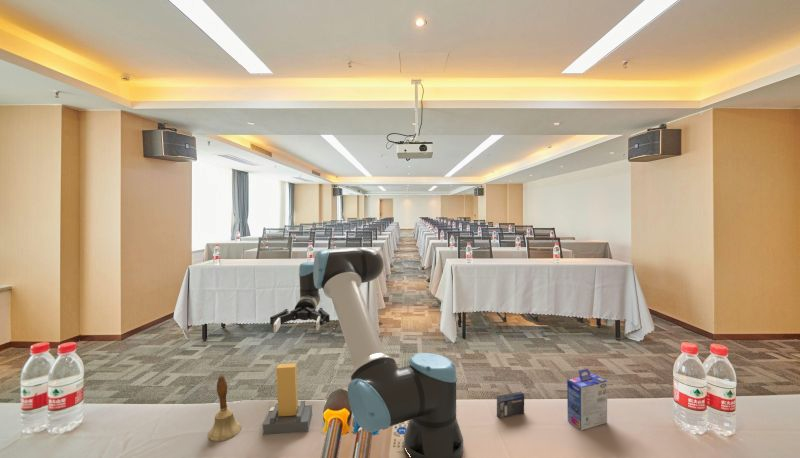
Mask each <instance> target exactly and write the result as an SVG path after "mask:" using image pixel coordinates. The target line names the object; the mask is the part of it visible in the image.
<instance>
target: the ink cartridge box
mask: <svg viewBox="0 0 800 458" xmlns="http://www.w3.org/2000/svg"><path fill="white" fill-rule="evenodd" d="M577 371H578V377H573V378H569V379H567V380H566V385H567V386H566V387H567V389H566V391H567V393H566V394H567V421H568V423H570V424H572V425H573V426H574V427H576V428H577V429H578V430H580V431H583V430H587V429H591V428H594V427H597V426H600V425H604V424H607V423H608V380H607V379H604V378H603V377H600V376H599V375H597V374H595V373H591V372H590V371H589V368H585V369H579V370H577ZM583 373H587V374H585V375H583Z"/></svg>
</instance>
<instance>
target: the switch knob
mask: <svg viewBox="0 0 800 458" xmlns="http://www.w3.org/2000/svg"><path fill="white" fill-rule="evenodd" d="M297 368H298V366H297V363H296V362H295V363H294V362H293V363H279V364H277V366H276V368H275V369H276V371H275V372H276V389H277V394H276V395H277V403H278V417H279V416H293V415H297V412H298V406H299V401H298V400H299V398H298V397H299V396H298V395H299V394H298V372H297V371H298V370H297Z"/></svg>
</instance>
